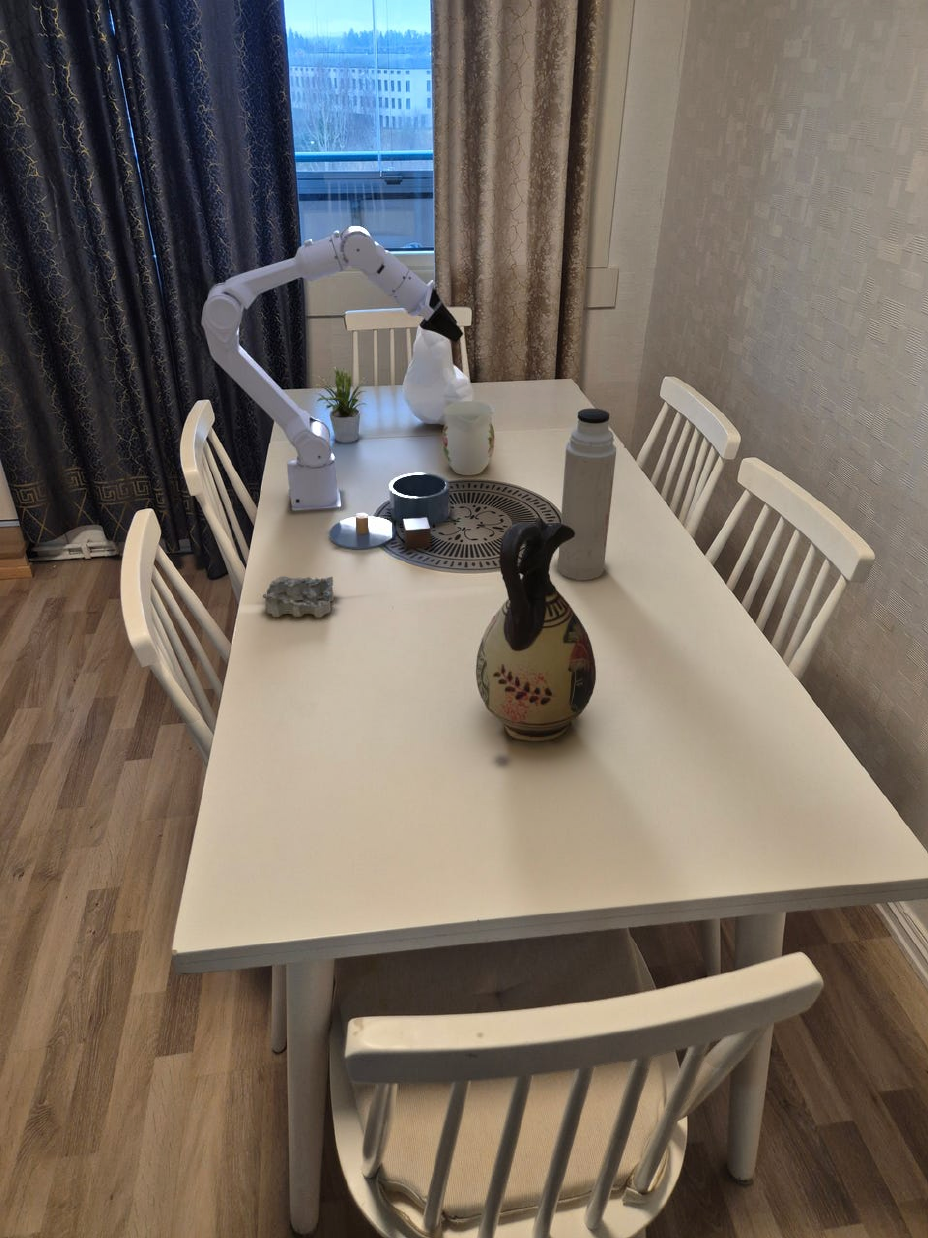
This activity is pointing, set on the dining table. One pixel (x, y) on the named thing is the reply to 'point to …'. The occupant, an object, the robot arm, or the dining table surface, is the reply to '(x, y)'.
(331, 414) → the house plant
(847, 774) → the dining table surface
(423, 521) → the block
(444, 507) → the canister
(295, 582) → the egg carton
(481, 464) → the pitcher
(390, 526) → the lid
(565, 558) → the thermos bottle
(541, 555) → the ceramic jug
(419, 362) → the decorative rooster
